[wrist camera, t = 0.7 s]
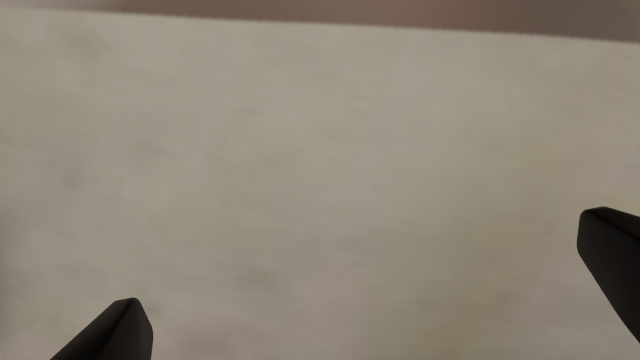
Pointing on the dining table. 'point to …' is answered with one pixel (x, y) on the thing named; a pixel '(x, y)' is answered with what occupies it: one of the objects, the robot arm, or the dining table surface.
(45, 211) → the dining table surface
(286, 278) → the dining table surface
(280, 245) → the dining table surface
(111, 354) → the robot arm
